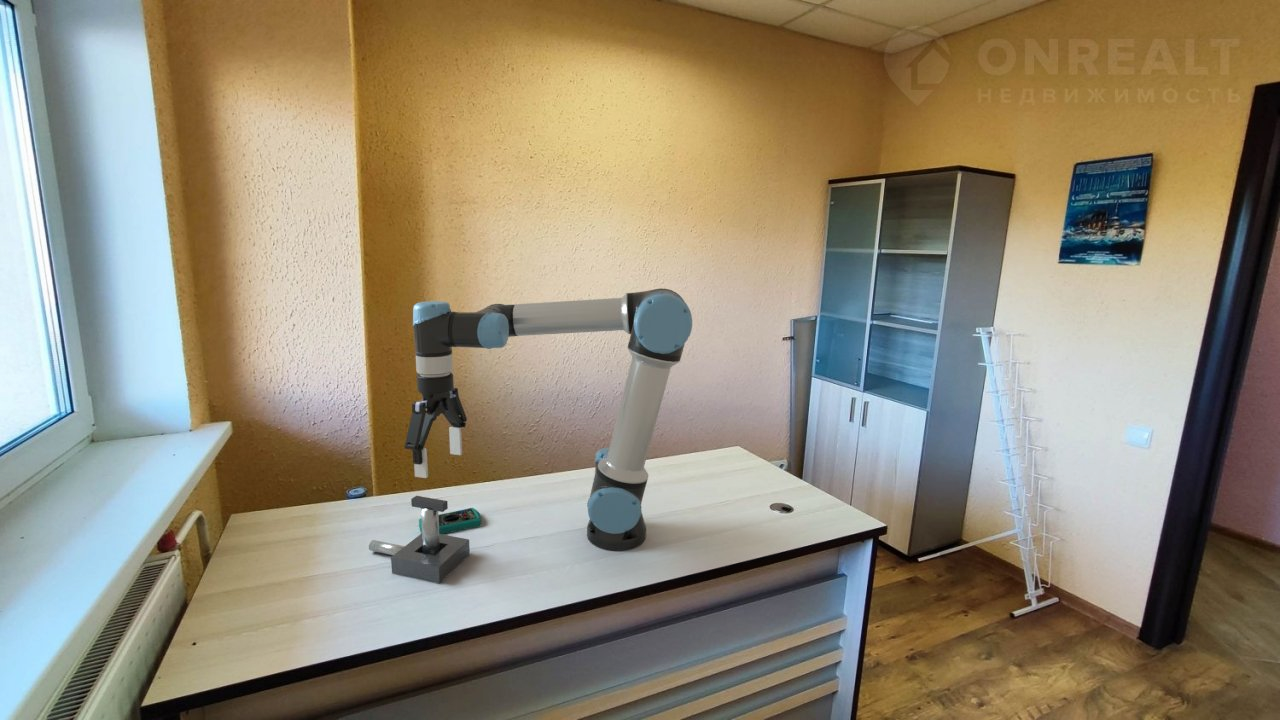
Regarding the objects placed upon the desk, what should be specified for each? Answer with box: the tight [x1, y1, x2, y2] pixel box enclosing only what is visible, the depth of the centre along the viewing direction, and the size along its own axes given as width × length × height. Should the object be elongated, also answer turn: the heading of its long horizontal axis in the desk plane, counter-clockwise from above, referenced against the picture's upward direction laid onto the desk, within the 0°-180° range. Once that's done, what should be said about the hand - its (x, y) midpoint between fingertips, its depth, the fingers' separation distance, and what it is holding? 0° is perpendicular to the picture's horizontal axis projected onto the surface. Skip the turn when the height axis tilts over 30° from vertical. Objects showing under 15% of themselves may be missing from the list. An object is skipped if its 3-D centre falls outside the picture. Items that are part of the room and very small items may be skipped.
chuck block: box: [368, 533, 471, 584], centre depth 131 cm, size 22×12×4 cm, turn 75°
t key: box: [410, 495, 449, 556], centre depth 129 cm, size 8×4×16 cm, turn 75°
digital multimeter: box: [418, 507, 482, 535], centre depth 147 cm, size 7×15×3 cm, turn 120°
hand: (439, 465), depth 128 cm, fingers open, 13 cm apart
